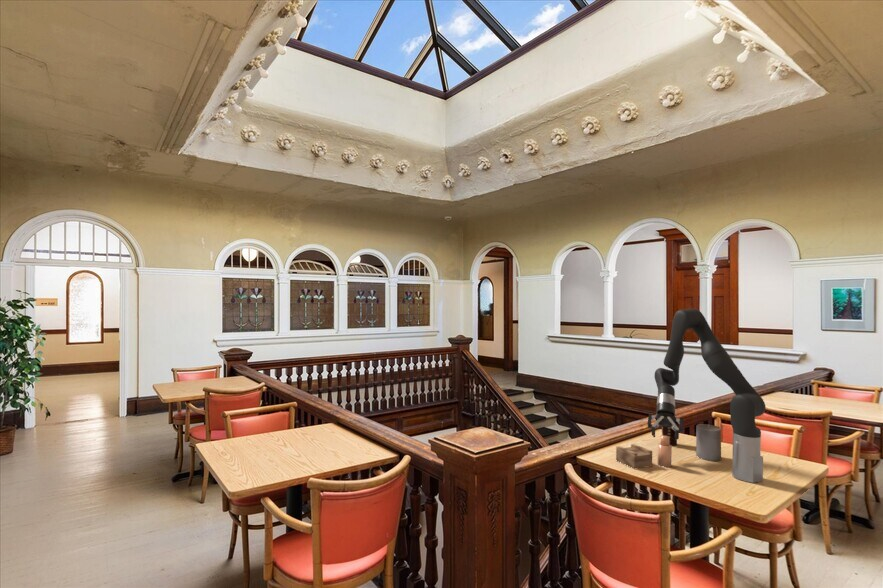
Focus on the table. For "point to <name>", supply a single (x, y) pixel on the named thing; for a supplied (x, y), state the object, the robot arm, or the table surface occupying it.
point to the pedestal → (634, 456)
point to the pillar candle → (708, 442)
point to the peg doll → (664, 452)
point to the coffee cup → (670, 433)
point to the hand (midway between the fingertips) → (665, 437)
